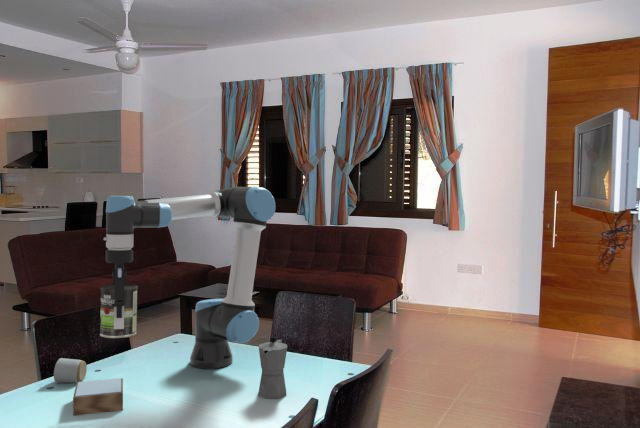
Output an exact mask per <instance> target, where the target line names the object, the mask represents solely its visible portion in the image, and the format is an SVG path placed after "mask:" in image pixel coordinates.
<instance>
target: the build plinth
mask: <svg viewBox="0 0 640 428" xmlns="http://www.w3.org/2000/svg"><path fill="white" fill-rule="evenodd" d="M75 384H76V385H75V389H74V393H73V397H72V416H81V415H91V414H101V413H103V414H104V413H111V412H119V411H124V379H123V378H122V377H119V378H118V377H117V378H110V379H109V378H105V379H96V380H85V381H84V380H83V381H82V382H77V383H75Z"/></svg>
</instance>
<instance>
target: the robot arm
mask: <svg viewBox="0 0 640 428" xmlns="http://www.w3.org/2000/svg"><path fill="white" fill-rule="evenodd" d="M105 204H106V206H105V215H106V216H105V219H106V220H105V221H106V224H105V230H106V232H105V234H106V235H105V237H103V241H106V242H105V247H106V248H107V249H106V250H105V262H106V263H107V264H108V263H109V264H114V266H113V267H112V268H111V276H112V284H115V303H114V304H112V307H114V329H124V304H125V302H124V284H127V283H126V277H127V272H128V271H127V267H124V266H125V265H124V264H128V263H132V262H133V261H134V249H132V248H134V229H136V228H137V229H138V228H139V229H140V228H144V229H145V228H147V229H149V228H158V229H160V228H165V227H168V226H169V225H170V224H171V222H172V221H174V220H183V219H189V218H190V219H191V218H192V219H193V218H199V217H207V216H208V217H210V218H228V219H233V221H232V223H233V224H234V227H236V230H235V239H234V246H233V251H232V259H231V265H230V271H229V279H228V285H227V293H226V297H223V298H211V299H204V300H203V299H202V300H200V301H197V302H196V303H195V310H194V313H195V316H194V317H195V321H194V322H195V327H194V328H195V330H194V331H195V332H194V334H195V337H194V338H195V340H194V345H193V348H192V351H191V353H190V354H191V355H190V361H189V363H190V365H191V366H192V367H194V368H198V369H207V370H208V369H220V368H224V367H227V366H230V365H231V364H232V363H233V353H232V350H231V346H230V343H235V344H239V345H240V344H246V343H248V342H250V341H251V339H253V338H254V337H255V336H256V334H257V333H258V331H259V326H260V319H259V317H258V314H257V313H256V312H255V307H256V304H255V302H254V301H253V300H252V298H253V290H254V282H255V278H256V277H255V275H256V269H257V260H258V255H259V248H260V241H261V233H262V231H263V230H265V229H266V228H267V222H268V221H269V220H271V219H272V218H273V216H274V215H275V213H276V201H275V197H274V196H273V195H272V193H271V191H269V190H268V189H266V188H264V187H258V186H234V187H228V188H223V189H218V190H210V191H208V192H207V193H205V194H196V195H188V196H187V195H186V196H176V197H165V198H155V199H145V200H136V201H135V199H134V196H131V195H110V196H108V197H107V199H106V203H105Z"/></svg>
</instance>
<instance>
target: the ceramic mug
mask: <svg viewBox="0 0 640 428" xmlns="http://www.w3.org/2000/svg"><path fill="white" fill-rule="evenodd" d="M54 365H55V366H54V368H53V369H54V370H53V381H55V383H59V384H61V383H62V384H76V383H77V382H83V381H84V379H85V378H86V375H87V371H88V370H87V367H88V366H87V363H86V361H85V360H81V359H74V358H65V357H64V358H63V357H60V358H58V360H57V361H56V363H55V364H54Z"/></svg>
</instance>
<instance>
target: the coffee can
mask: <svg viewBox="0 0 640 428" xmlns="http://www.w3.org/2000/svg"><path fill="white" fill-rule="evenodd" d="M138 287H139V286H138V285H137V284H133V283H125V284H124V302H125V304H124V329H114V307H112V304H114V303H115V284H113V283H109V284H104V285H101V286H100V287H99V288H100V320H99V324H100V325H99V326H100V328H99V336H100V337H102V338H106V339H123V338H131V337H134V336H135V335H137V318H138V316H137V315H138V314H137V313H138V289H139V288H138Z"/></svg>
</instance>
